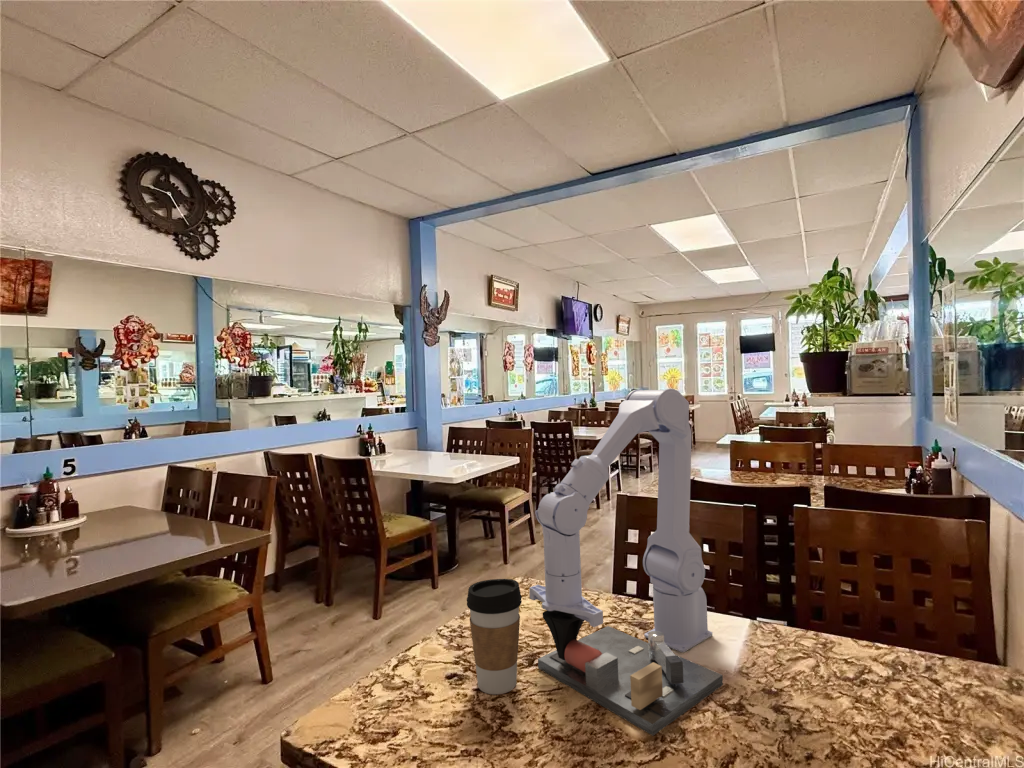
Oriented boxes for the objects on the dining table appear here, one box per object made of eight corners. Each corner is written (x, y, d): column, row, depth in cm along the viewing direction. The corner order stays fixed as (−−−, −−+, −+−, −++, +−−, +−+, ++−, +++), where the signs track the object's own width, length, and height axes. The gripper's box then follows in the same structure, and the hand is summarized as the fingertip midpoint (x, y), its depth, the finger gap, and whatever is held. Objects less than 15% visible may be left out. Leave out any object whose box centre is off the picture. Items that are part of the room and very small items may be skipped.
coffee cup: (519, 702, 75) (515, 597, 75) (462, 697, 77) (459, 594, 77) (529, 670, 83) (525, 576, 83) (477, 667, 85) (474, 574, 85)
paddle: (654, 691, 73) (653, 662, 73) (662, 695, 72) (661, 666, 72) (631, 705, 70) (630, 675, 70) (640, 710, 69) (638, 679, 69)
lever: (646, 653, 83) (645, 631, 83) (661, 652, 84) (660, 630, 84) (669, 684, 74) (668, 660, 74) (685, 683, 75) (684, 658, 75)
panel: (608, 634, 95) (607, 608, 95) (724, 685, 77) (722, 653, 77) (538, 668, 84) (537, 638, 84) (654, 736, 67) (652, 699, 67)
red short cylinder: (581, 659, 82) (580, 636, 82) (603, 670, 79) (602, 646, 79) (564, 667, 80) (563, 643, 80) (587, 679, 76) (586, 655, 77)
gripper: (514, 565, 86) (517, 648, 86) (578, 589, 74) (581, 685, 74) (545, 555, 90) (548, 634, 90) (611, 577, 79) (614, 667, 79)
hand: (565, 656), depth 82 cm, fingers closed
